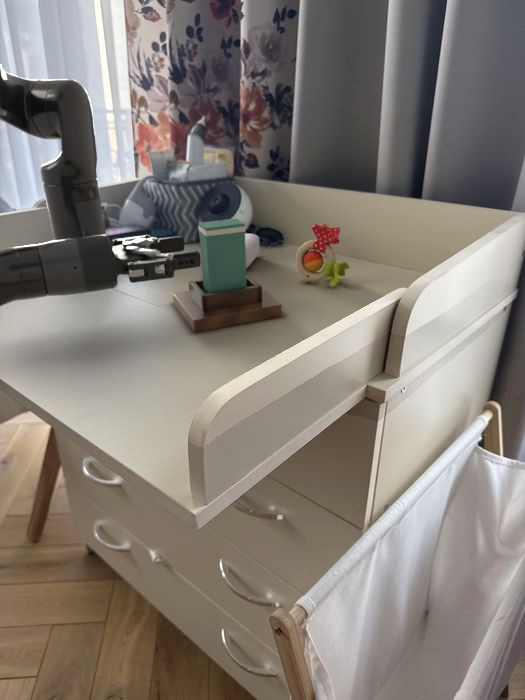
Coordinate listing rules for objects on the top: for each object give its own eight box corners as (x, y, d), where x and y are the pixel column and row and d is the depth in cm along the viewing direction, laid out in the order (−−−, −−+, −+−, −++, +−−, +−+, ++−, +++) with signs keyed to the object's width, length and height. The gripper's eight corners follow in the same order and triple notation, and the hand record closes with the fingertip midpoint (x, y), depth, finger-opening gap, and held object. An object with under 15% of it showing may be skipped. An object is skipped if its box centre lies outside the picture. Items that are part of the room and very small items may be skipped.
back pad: (210, 306, 83) (205, 228, 78) (203, 298, 86) (197, 222, 81) (247, 299, 85) (245, 223, 80) (239, 292, 88) (236, 218, 83)
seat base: (194, 332, 79) (192, 304, 77) (173, 304, 89) (170, 278, 87) (281, 316, 84) (281, 289, 82) (252, 291, 94) (251, 266, 92)
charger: (190, 277, 101) (217, 254, 114) (238, 281, 99) (259, 256, 111) (188, 253, 99) (215, 231, 111) (237, 256, 96) (259, 234, 109)
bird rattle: (304, 299, 96) (352, 283, 92) (279, 241, 92) (328, 222, 88) (311, 287, 101) (357, 272, 97) (288, 232, 98) (335, 214, 94)
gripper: (79, 252, 67) (204, 236, 73) (67, 226, 79) (176, 214, 84) (88, 309, 70) (208, 289, 76) (76, 276, 82) (180, 261, 88)
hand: (191, 250), depth 80 cm, fingers open, 8 cm apart
